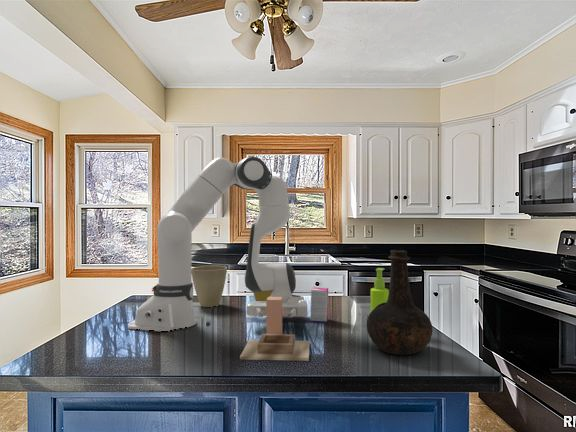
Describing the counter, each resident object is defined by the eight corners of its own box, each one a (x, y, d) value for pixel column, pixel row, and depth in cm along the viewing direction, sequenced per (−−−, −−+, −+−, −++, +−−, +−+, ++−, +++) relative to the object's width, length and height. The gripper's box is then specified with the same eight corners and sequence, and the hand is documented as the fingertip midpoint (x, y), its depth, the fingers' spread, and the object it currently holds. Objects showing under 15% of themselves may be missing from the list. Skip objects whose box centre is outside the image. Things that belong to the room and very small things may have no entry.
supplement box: (326, 323, 140) (326, 290, 140) (310, 322, 141) (310, 289, 141) (328, 318, 145) (328, 287, 145) (312, 318, 147) (312, 287, 147)
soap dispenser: (390, 326, 135) (390, 267, 135) (386, 332, 128) (386, 270, 128) (373, 324, 137) (373, 266, 137) (368, 330, 131) (368, 269, 131)
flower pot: (252, 307, 164) (252, 285, 164) (261, 303, 172) (261, 282, 172) (271, 309, 161) (271, 286, 161) (280, 304, 169) (280, 283, 169)
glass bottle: (400, 336, 124) (400, 246, 124) (447, 354, 108) (447, 250, 108) (353, 345, 116) (353, 248, 115) (396, 366, 100) (396, 254, 100)
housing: (240, 359, 105) (239, 346, 105) (249, 342, 119) (249, 331, 119) (308, 360, 104) (308, 348, 104) (309, 343, 117) (309, 332, 117)
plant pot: (198, 301, 176) (198, 265, 176) (231, 302, 174) (231, 265, 174) (185, 309, 161) (185, 270, 161) (221, 310, 159) (220, 270, 159)
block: (266, 338, 122) (266, 299, 122) (268, 334, 127) (268, 296, 127) (281, 339, 122) (281, 299, 122) (282, 334, 126) (282, 296, 126)
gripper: (249, 295, 140) (242, 304, 126) (308, 296, 139) (307, 305, 125) (249, 313, 140) (242, 324, 126) (308, 314, 139) (307, 325, 125)
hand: (275, 314), depth 126 cm, fingers open, 8 cm apart
